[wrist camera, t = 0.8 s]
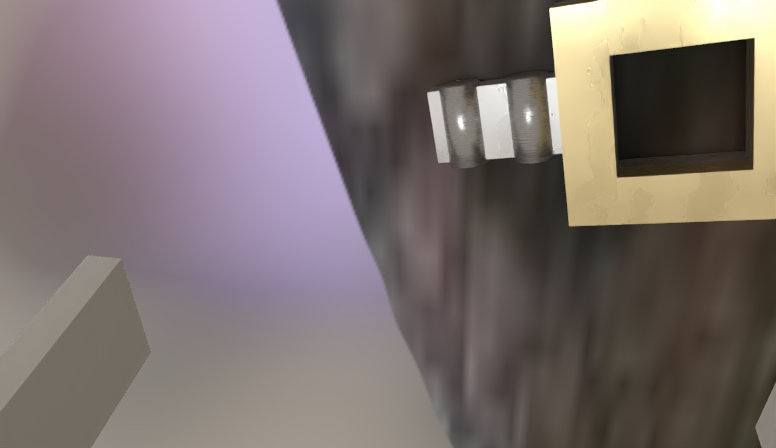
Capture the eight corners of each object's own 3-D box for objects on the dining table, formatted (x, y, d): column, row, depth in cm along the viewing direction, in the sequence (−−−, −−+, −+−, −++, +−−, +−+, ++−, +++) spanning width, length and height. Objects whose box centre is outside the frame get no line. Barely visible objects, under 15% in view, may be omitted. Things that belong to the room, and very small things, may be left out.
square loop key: (424, 22, 37) (406, 30, 34) (1009, -69, 28) (1050, -68, 25) (453, 211, 41) (439, 232, 38) (976, 186, 31) (1008, 212, 29)
